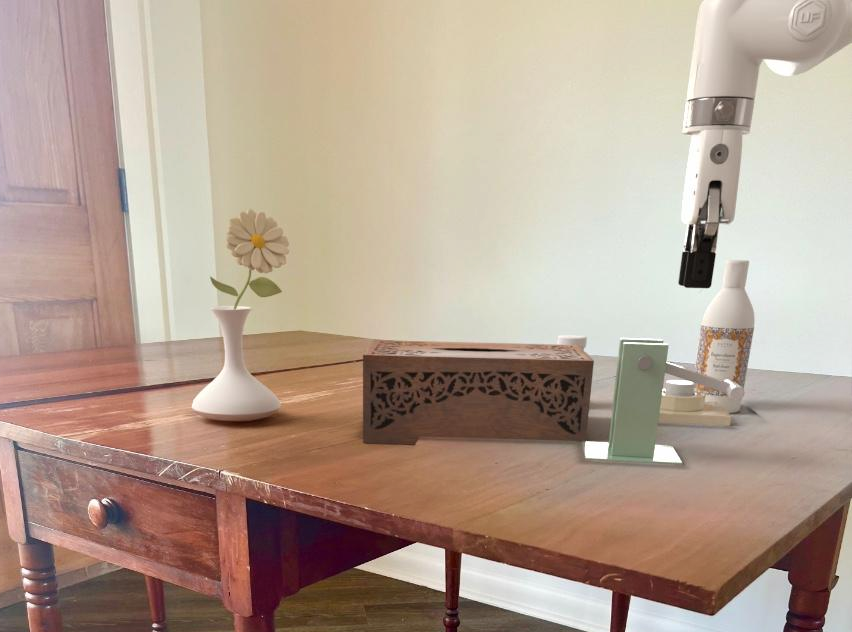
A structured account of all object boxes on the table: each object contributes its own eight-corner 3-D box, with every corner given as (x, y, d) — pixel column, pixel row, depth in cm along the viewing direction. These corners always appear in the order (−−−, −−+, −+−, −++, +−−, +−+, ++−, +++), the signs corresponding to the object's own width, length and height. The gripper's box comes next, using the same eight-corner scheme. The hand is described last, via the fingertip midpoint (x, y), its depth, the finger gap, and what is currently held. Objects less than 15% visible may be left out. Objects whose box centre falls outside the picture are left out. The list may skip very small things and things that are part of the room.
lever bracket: (670, 455, 98) (687, 338, 93) (681, 474, 91) (699, 347, 86) (581, 451, 99) (592, 335, 94) (584, 468, 92) (597, 344, 87)
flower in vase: (192, 429, 106) (174, 206, 97) (193, 411, 117) (177, 208, 107) (298, 426, 109) (291, 209, 99) (290, 409, 119) (283, 210, 109)
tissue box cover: (363, 443, 101) (362, 355, 97) (374, 418, 114) (374, 340, 111) (584, 449, 100) (593, 360, 96) (570, 424, 113) (577, 344, 109)
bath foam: (687, 412, 122) (709, 260, 114) (690, 404, 128) (711, 258, 120) (739, 416, 120) (765, 261, 112) (740, 407, 126) (765, 260, 118)
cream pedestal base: (714, 418, 119) (719, 388, 117) (729, 433, 109) (734, 401, 108) (625, 414, 120) (628, 384, 119) (632, 428, 111) (635, 397, 109)
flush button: (690, 394, 115) (692, 380, 114) (694, 398, 111) (697, 385, 111) (662, 392, 115) (664, 379, 115) (666, 397, 112) (668, 383, 111)
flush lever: (729, 398, 93) (739, 377, 92) (738, 407, 89) (749, 384, 88) (622, 362, 93) (631, 340, 92) (626, 369, 89) (635, 346, 88)
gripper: (768, 110, 93) (738, 292, 100) (736, 127, 108) (713, 284, 115) (695, 110, 94) (672, 290, 101) (674, 127, 109) (655, 282, 116)
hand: (694, 285), depth 108 cm, fingers open, 3 cm apart
